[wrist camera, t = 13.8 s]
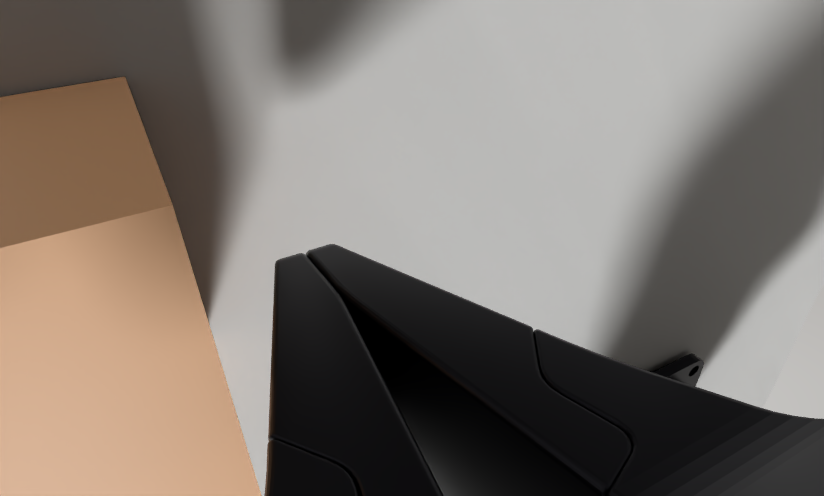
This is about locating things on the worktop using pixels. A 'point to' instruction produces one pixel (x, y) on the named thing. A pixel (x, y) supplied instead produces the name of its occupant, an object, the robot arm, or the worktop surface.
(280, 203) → the worktop surface
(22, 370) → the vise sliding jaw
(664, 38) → the worktop surface
